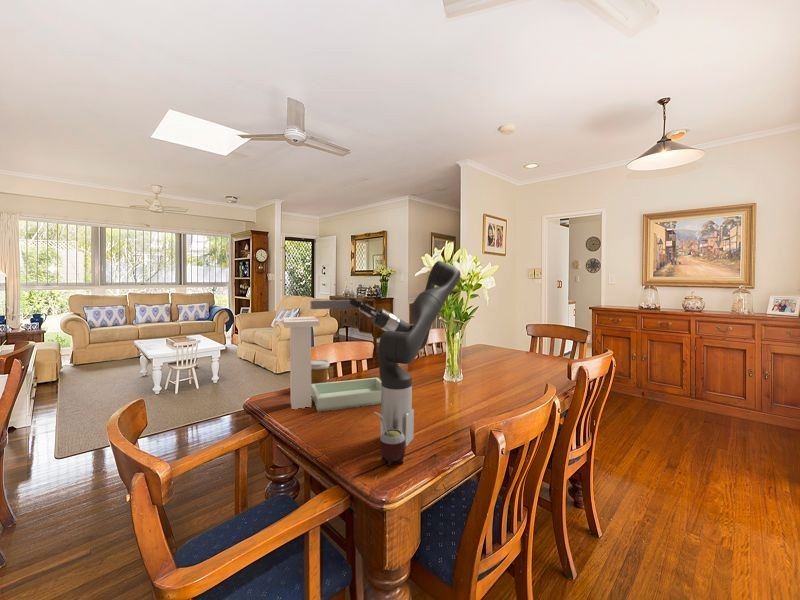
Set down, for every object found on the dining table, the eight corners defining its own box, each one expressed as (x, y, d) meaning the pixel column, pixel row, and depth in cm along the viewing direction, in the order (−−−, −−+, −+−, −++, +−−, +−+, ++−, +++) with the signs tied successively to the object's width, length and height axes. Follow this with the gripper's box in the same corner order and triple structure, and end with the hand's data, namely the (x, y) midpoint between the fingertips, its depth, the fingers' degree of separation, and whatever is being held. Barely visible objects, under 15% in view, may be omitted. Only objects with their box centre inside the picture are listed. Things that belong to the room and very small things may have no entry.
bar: (361, 307, 141) (361, 299, 141) (363, 307, 139) (363, 300, 138) (310, 308, 134) (310, 300, 134) (311, 309, 131) (311, 301, 131)
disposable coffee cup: (334, 389, 153) (334, 362, 152) (315, 394, 146) (315, 365, 145) (321, 384, 160) (321, 358, 159) (303, 389, 153) (302, 361, 152)
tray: (377, 388, 154) (377, 377, 154) (391, 402, 138) (391, 390, 137) (311, 396, 144) (311, 384, 144) (317, 412, 127) (317, 398, 127)
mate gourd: (408, 457, 97) (409, 404, 96) (399, 472, 89) (400, 415, 88) (383, 453, 99) (383, 401, 98) (372, 467, 91) (372, 411, 90)
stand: (314, 397, 142) (314, 316, 140) (319, 409, 130) (319, 320, 128) (283, 401, 138) (282, 317, 135) (285, 413, 126) (284, 322, 123)
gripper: (384, 310, 151) (350, 291, 145) (396, 314, 138) (359, 292, 132) (376, 326, 150) (341, 307, 144) (387, 331, 137) (349, 310, 131)
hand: (350, 300), depth 138 cm, fingers closed on bar, 3 cm apart
